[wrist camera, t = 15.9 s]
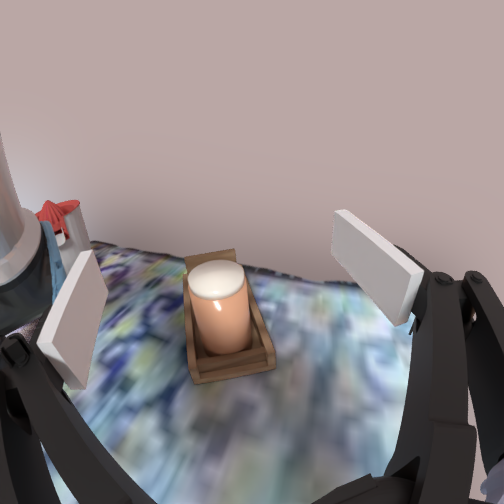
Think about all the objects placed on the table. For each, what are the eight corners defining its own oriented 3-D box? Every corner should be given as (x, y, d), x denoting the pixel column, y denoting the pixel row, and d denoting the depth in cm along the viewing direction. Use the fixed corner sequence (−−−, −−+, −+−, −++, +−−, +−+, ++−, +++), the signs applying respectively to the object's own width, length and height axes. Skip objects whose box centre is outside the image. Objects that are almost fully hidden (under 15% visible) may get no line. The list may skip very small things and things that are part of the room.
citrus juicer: (49, 307, 48) (13, 223, 38) (45, 274, 60) (21, 206, 50) (107, 279, 57) (80, 195, 47) (93, 253, 69) (73, 184, 59)
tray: (275, 368, 35) (275, 333, 32) (194, 384, 34) (181, 351, 30) (242, 279, 54) (239, 247, 51) (186, 289, 52) (179, 257, 49)
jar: (195, 355, 37) (175, 287, 31) (215, 323, 43) (202, 256, 37) (243, 367, 35) (232, 297, 29) (258, 331, 41) (253, 262, 35)
